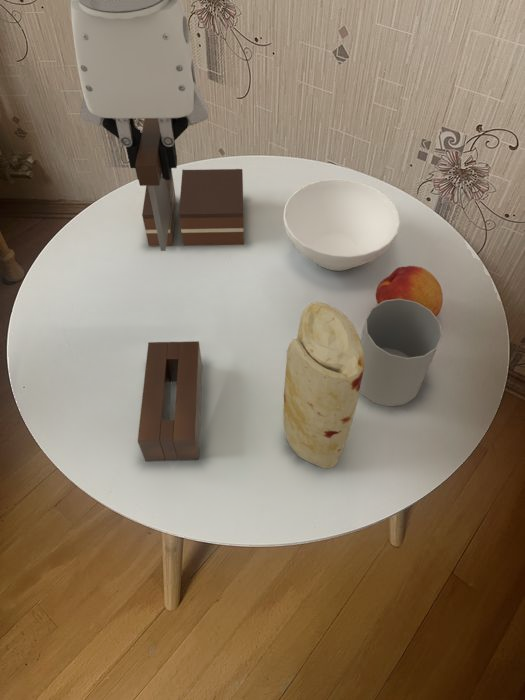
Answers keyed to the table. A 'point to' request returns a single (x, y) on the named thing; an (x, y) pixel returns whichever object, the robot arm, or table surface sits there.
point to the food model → (322, 384)
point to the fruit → (412, 288)
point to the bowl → (341, 223)
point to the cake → (212, 207)
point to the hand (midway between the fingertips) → (155, 170)
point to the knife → (154, 177)
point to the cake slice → (149, 216)
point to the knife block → (155, 427)
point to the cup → (397, 350)
